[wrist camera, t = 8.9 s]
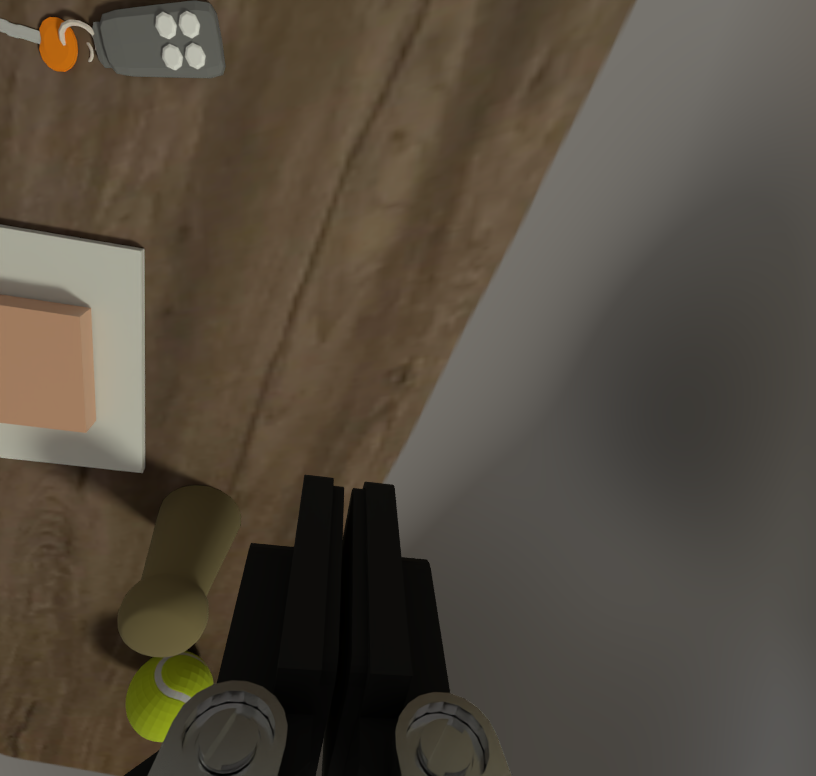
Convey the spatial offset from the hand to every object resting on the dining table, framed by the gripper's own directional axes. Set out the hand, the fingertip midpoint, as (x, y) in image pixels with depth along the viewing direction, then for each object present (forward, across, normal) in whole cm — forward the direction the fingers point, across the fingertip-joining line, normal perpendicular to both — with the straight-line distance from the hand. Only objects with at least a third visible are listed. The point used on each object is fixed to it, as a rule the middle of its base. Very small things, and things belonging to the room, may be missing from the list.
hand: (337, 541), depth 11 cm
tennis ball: (+27, +9, +39) cm, 48 cm away
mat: (+27, +18, +11) cm, 34 cm away
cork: (+27, +8, +23) cm, 37 cm away
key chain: (+28, +14, -7) cm, 32 cm away
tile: (+26, +15, +11) cm, 32 cm away
